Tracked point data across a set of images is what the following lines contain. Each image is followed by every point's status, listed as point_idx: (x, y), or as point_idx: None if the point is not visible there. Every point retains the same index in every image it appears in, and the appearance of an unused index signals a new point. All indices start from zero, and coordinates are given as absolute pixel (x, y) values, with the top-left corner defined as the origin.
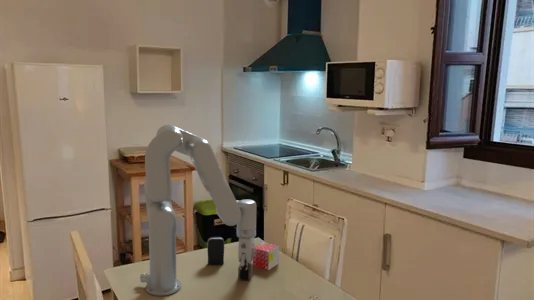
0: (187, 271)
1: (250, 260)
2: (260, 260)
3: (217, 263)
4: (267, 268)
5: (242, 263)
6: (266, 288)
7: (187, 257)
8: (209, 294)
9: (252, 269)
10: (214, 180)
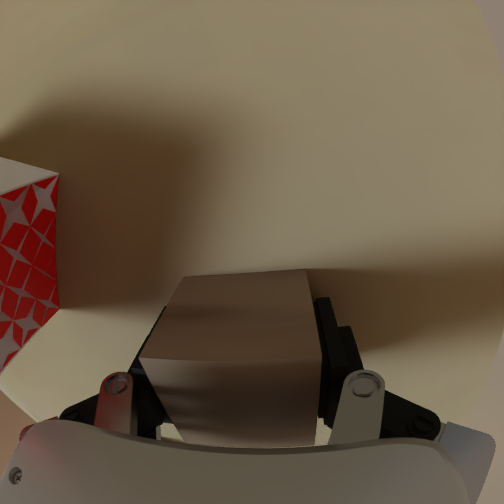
0: None
1: (451, 477)
2: (15, 279)
3: None
4: (46, 188)
5: (481, 470)
6: (428, 88)
7: None
8: (475, 394)
9: (202, 315)
10: None
